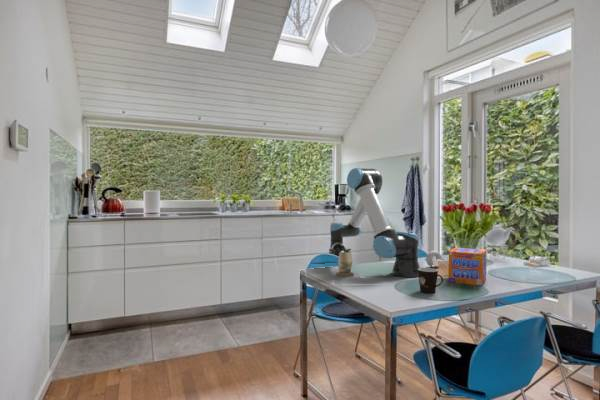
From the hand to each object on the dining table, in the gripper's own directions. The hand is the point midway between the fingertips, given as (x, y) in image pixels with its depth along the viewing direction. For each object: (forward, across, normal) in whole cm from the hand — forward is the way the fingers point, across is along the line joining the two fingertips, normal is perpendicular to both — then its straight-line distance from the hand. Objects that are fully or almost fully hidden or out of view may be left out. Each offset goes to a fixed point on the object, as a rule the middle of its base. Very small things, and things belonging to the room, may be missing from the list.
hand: (343, 254), depth 193 cm
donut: (-24, -57, -12) cm, 63 cm away
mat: (0, 0, -12) cm, 12 cm away
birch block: (-3, 0, -8) cm, 9 cm away
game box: (+9, -62, -14) cm, 64 cm away
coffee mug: (+31, -34, -14) cm, 48 cm away
